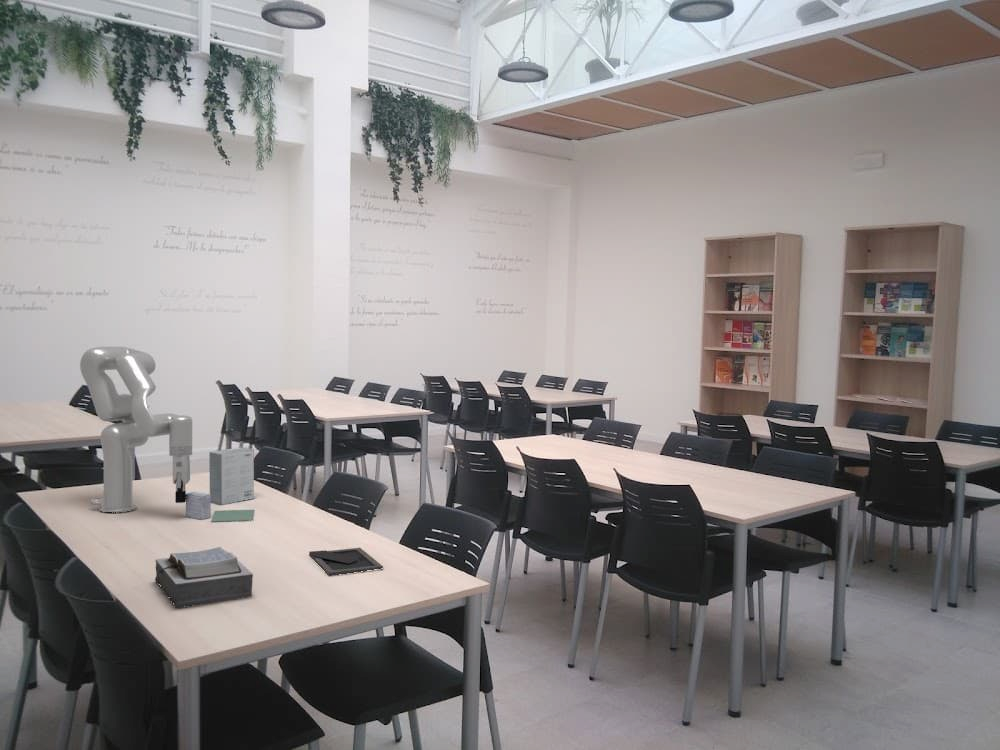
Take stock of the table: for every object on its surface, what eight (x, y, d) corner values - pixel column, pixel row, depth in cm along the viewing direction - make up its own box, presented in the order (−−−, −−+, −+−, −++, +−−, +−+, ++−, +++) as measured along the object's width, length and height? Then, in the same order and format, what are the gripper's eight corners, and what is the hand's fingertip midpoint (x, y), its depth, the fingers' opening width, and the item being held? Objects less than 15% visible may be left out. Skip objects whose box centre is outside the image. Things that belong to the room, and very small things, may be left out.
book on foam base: (154, 612, 195) (154, 572, 194) (154, 578, 219) (154, 543, 219) (254, 602, 204) (254, 563, 203) (243, 571, 229) (243, 536, 228)
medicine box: (211, 517, 287) (211, 493, 286) (201, 520, 283) (201, 495, 282) (194, 514, 290) (195, 491, 289) (185, 517, 286) (185, 493, 285)
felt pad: (211, 522, 280) (211, 521, 280) (214, 511, 295) (214, 510, 295) (253, 521, 284) (253, 519, 283) (254, 510, 299) (254, 509, 299)
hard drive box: (242, 496, 322) (243, 447, 321) (254, 499, 318) (255, 449, 317) (208, 502, 310) (208, 451, 309) (220, 505, 305) (221, 453, 304)
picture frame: (309, 558, 243) (328, 578, 225) (309, 551, 243) (328, 571, 225) (359, 552, 251) (383, 571, 233) (360, 546, 251) (383, 564, 232)
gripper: (189, 454, 277) (189, 506, 278) (194, 447, 291) (194, 497, 292) (166, 454, 275) (166, 507, 276) (172, 447, 289) (171, 498, 290)
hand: (180, 502), depth 284 cm, fingers closed
